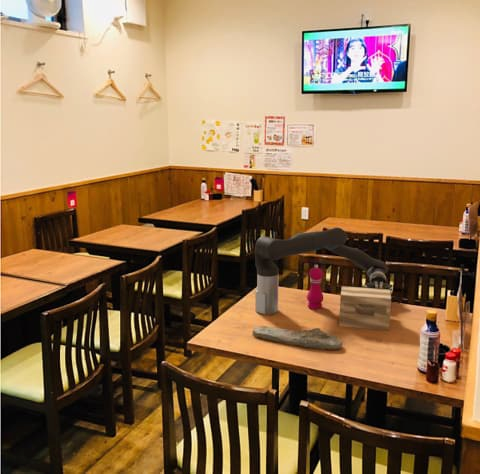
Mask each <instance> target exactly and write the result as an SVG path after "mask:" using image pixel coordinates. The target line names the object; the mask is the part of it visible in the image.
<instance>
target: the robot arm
mask: <svg viewBox="0 0 480 474" xmlns="http://www.w3.org/2000/svg"><path fill="white" fill-rule="evenodd" d="M347 238H348V235H347V232H346V231H345V230H344V229H342V228H341V227H333V228H329V229H326V230H320V231H310V232H300V233H296V234H294V235H293V236H292V237H290V238H288V239H277V238H273V237H269V236H265V235H262V236H260V237H259V238H258V239H257V240H256V243H255V245H254V259H255V260H254V261H255V267H256V270H257V271H256V273H257V276H256V277H257V278H256V279H257V281H256V283H257V284H256V286H257V287H256V290H255V293H254V294H255V299H254V300H255V303H254V304H255V312H256V313H259V314H261V315H264V316H266V315H274V314H277V313H278V312H279V270H280V269H279V266H277V264H276V263H275V262H274V261H278V260H280V259H282V258H285V257H288V256H295V255H296V256H297V255H303V254H308V253H312V252H317V251H318V250H321V249H323V248H325V249H326V250H328V251H329V252H333V253H334V254H337V255H339V256H341V257H343V258H345V259H347V260H349V261H351V262H352V263H354V264H355V265H356V266H358V267H359V268H360V269H362V270H364V271H365V270H367V272H366V274H367V276H368V277H369V282H364V288H374V289H387V290H390V292H391V291H393V289H394V287H393V284H388V282H387V277H386V273H387V272H388V270H389V267H388V264H387V263H386V262H384V261H382V260H380V259H376V258H374V257H372V256H370V255H368V254H367V253H365V252H364V251H362V250H360V249H357V248H353V247H351V246H350V247H349V246H347V245H345V244H346V242H347V240H348V239H347Z"/></svg>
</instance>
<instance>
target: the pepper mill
mask: <svg viewBox="0 0 480 474" xmlns="http://www.w3.org/2000/svg"><path fill="white" fill-rule="evenodd" d="M308 273H309V274H308V275H309V277H310V278H309V279H310V280H309V281H310V287H309V288H310V289H309V291H308V293H307V296H306V299H307V301H308V303H307V307H308V309H310V310H321V309H322V308H323V303H322V302H323V301H324V293H323V291H322V288H321V283H322V277H323V276H324V272H323V270H322V269H321V268H320V267H319V265H318V264H314V267H312V268H310V270H309V272H308Z"/></svg>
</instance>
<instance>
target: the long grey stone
mask: <svg viewBox="0 0 480 474" xmlns="http://www.w3.org/2000/svg"><path fill="white" fill-rule="evenodd" d="M252 336H253V337H254V338H256V337H257V339H258V338H260V339H263V340H266V341H267V340H268V341H271V342H274V343H281V344H285V345H289V346H300V347H304V348H309V349H316V350H322V351H325V350H333V351H334V350H339V349H341V347H343V341H342V340H341V339H340V338H338V337H337V336H335V335H333V334H332V333H330V332H325V331H324V330H321V328H319V327H316V328H315V327H314V328H312V329H309V330H306V329H305V330H299V331H298V330H292V329H287V328H279V327H271V326H266V325H261V326H256V327H254V328H253V330H252Z"/></svg>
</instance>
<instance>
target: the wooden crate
mask: <svg viewBox="0 0 480 474" xmlns="http://www.w3.org/2000/svg"><path fill="white" fill-rule="evenodd" d="M391 294H392V293H391V291H390V290H387V289H374V288H365V287H358V286H357V287H356V286H345V285H343V286H342V285H341V289H340V302H339V323H338V324H339V325H338V326H339V327H345V328H355V329H356V328H357V329H367V330H377V331H378V330H379V331H389V330H390V323H391V322H390V321H391V308H392V295H391Z"/></svg>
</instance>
